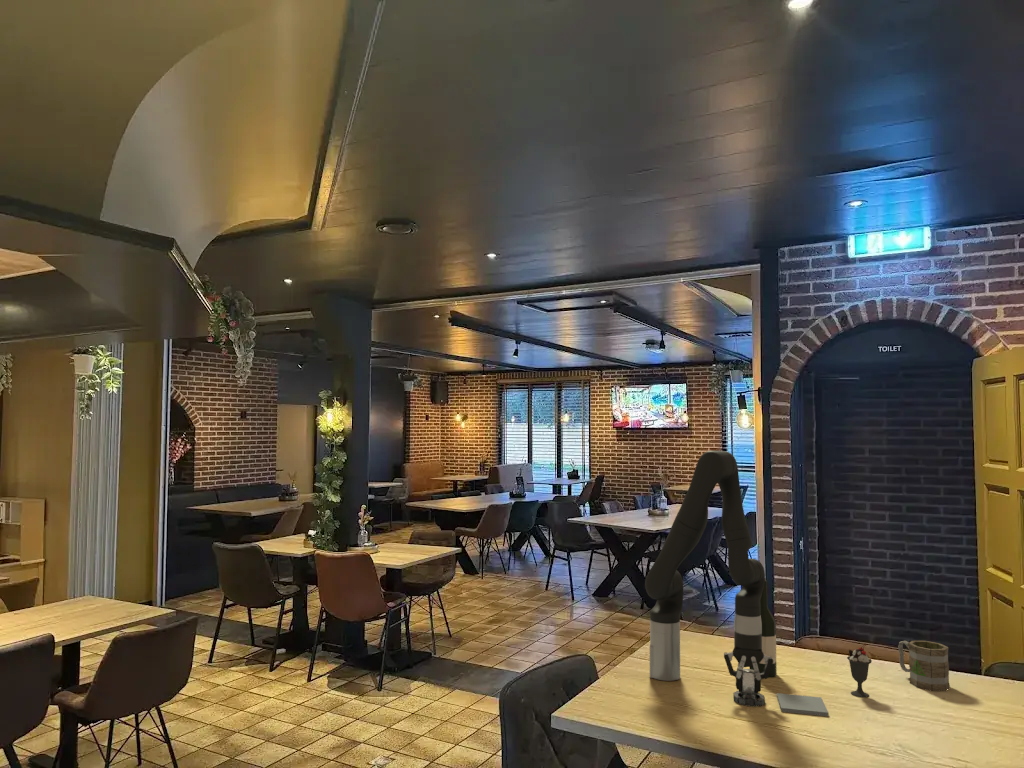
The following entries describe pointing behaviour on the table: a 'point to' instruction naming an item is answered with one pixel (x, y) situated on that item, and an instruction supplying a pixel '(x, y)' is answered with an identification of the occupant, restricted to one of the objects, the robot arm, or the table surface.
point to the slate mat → (802, 704)
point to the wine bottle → (767, 634)
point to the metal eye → (749, 700)
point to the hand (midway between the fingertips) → (748, 691)
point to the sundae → (859, 669)
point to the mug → (926, 664)
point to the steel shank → (748, 684)
